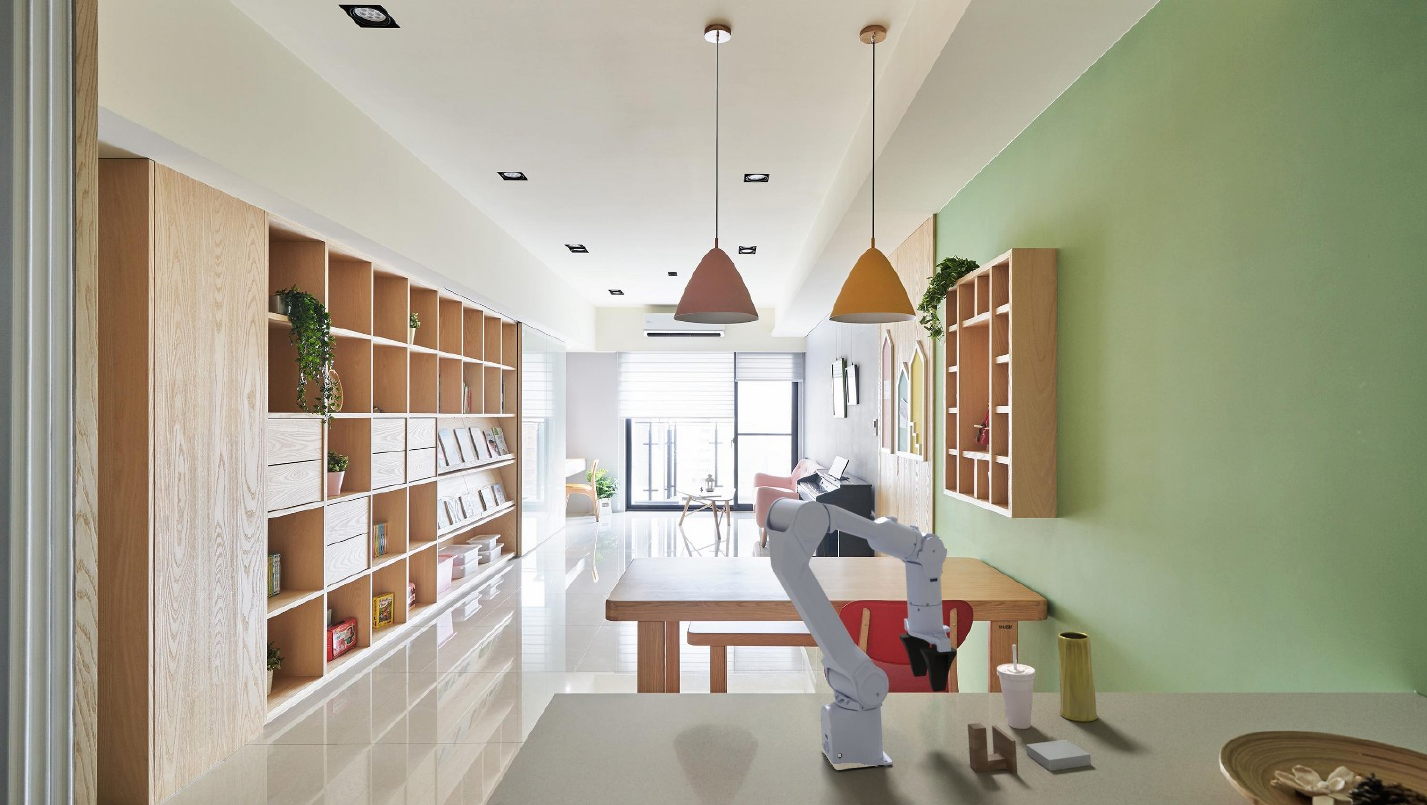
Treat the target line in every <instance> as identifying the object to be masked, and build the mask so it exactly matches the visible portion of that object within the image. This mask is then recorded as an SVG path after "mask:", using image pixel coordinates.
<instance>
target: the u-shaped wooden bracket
mask: <svg viewBox="0 0 1427 805" xmlns="http://www.w3.org/2000/svg"><path fill="white" fill-rule="evenodd" d="M991 728H992V729H991V731H992V733H991V734H992V748H993V749H992V750H993V751H992V752H993V753H989V752H988V737H987V727H986V726H985V725H983V724H982V723H981V722H975V723H967V733H968V735H967V736H968V749H969V750H968V751H969V752H968V753H969V766H970V768H971V769H973V771H974V772H975V773H981V772H990V771H997V770H1005V769H1006V770H1008V771H1009V772H1011V773H1012V774H1013V775H1017V774H1018V760H1017V744H1016V742H1017V741H1016V739H1014V738H1013V737H1011V736H1010V735H1009V734H1008V733H1006V732H1005V731H1004V730H1002V729H1001V727H999V726H997V725H991ZM988 753H989V754H988Z"/></svg>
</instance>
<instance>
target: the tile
mask: <svg viewBox="0 0 1427 805" xmlns="http://www.w3.org/2000/svg"><path fill="white" fill-rule="evenodd" d="M1026 756H1028V757H1030V758H1031V759H1033V760H1034V761H1036V762H1037V763H1038V764H1039V765H1041V766H1043V767H1044V768H1046V769H1047V771H1057V770H1063V769H1071V768H1080V767H1085V766H1086V767H1087V766H1092V761H1091V753H1089V752H1087V751H1085V750H1084V749H1082V748H1081V747H1079V746H1078V745H1076V744H1074V743H1072V742H1070V741H1069V740H1068V739H1066V738H1065V739H1060V740H1059V739H1058V740H1051V741H1044V742H1036V743H1028V744H1026Z"/></svg>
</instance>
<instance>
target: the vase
mask: <svg viewBox="0 0 1427 805" xmlns="http://www.w3.org/2000/svg"><path fill="white" fill-rule="evenodd" d="M1057 644H1058V645H1057V647H1058V649H1057V650H1058V661H1059V663H1058V664H1059V691H1060V692H1059V693H1060V709H1059V713H1060V716H1062V717H1063V718H1065V719H1067V720H1068V721H1069V720H1070V721H1073V722H1080V723H1088V722H1089V723H1090V722H1094V721H1095V720H1097V719H1098V717H1099V715H1098V713H1097V700H1096V699H1097V698H1096V690H1095V683H1094V682H1095V680H1094V679H1095V678H1094V671H1093V661H1092V645H1091V637H1090V635H1089V634H1087V633H1084V632H1079V631H1061V632H1059V633H1058V634H1057Z"/></svg>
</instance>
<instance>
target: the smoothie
mask: <svg viewBox="0 0 1427 805" xmlns="http://www.w3.org/2000/svg"><path fill="white" fill-rule="evenodd" d="M1011 646H1012V663H1003V664H1000V665H998V666H996V675H997V676H999V677H998V678H999V682H1000V684H999V685H1000V688H1001V694H1002V700H1003V704H1004V709H1005V715H1006V719H1007V720H1006V721H1007V725H1008V726H1009V727H1011V728H1014V729H1018V730H1019V729H1020V730H1025V729H1029V728H1030V727H1031V725H1032V724H1031V723H1032V709H1033V696H1034V684H1035V682H1034V679H1035V678H1036V676H1037V675H1036V669H1035V668H1033V667H1032V666H1030V665H1026V664H1020V663H1018V662H1017V645H1016V644H1012V645H1011Z"/></svg>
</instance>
